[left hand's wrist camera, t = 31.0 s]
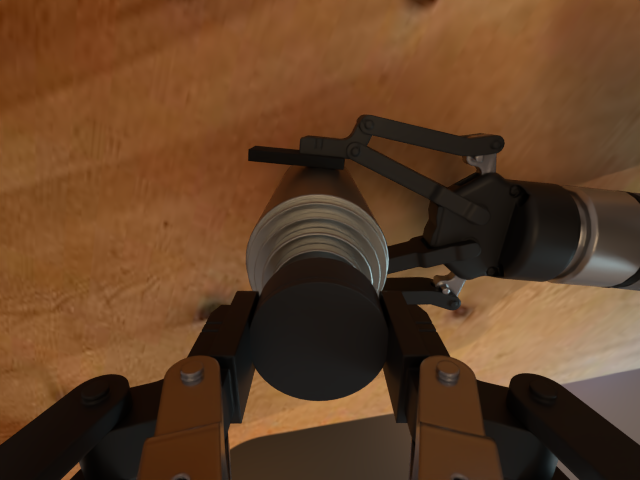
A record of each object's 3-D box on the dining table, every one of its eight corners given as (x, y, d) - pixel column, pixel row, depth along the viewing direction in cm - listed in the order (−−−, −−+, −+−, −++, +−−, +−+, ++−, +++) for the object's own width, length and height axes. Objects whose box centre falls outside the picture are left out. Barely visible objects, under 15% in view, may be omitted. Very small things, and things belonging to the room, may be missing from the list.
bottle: (295, 240, 33) (260, 436, 13) (267, 171, 31) (172, 277, 11) (365, 217, 33) (444, 386, 12) (341, 144, 30) (390, 203, 10)
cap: (400, 332, 13) (413, 367, 11) (297, 379, 13) (294, 419, 12) (343, 234, 11) (347, 256, 10) (233, 292, 12) (218, 322, 10)
